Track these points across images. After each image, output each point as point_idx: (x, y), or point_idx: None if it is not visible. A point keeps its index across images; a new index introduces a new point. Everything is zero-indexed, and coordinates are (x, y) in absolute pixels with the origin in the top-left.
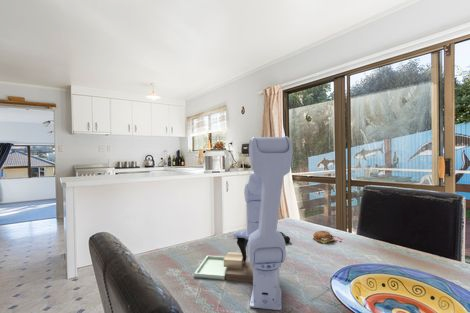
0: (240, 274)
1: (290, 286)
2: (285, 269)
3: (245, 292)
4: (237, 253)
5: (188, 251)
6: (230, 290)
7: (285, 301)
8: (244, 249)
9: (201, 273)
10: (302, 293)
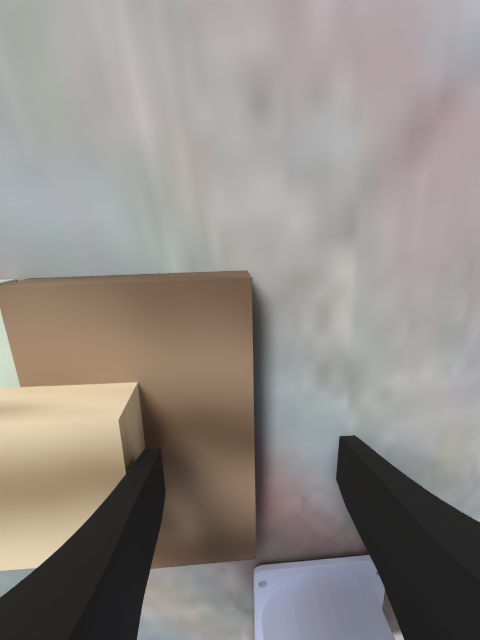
0: (167, 565)
1: None
2: (441, 350)
3: (220, 597)
4: (44, 440)
5: None
6: (146, 600)
7: (391, 606)
8: (133, 634)
9: None
10: None
